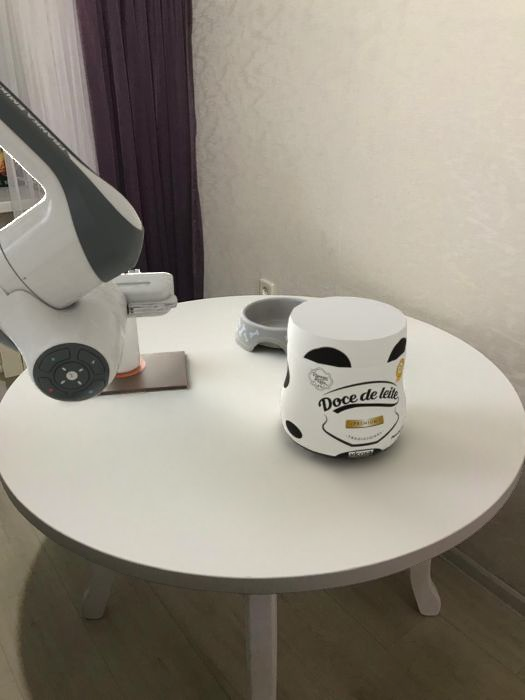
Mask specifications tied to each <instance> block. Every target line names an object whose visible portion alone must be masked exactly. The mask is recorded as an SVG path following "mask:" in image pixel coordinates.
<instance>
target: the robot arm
mask: <svg viewBox="0 0 525 700" xmlns="http://www.w3.org/2000/svg"><path fill="white" fill-rule="evenodd" d="M0 148H1V149H2V150H3V151H4V152H5V153H6V154H8V155H9V156H10V157H11V159H13V160H14V161H15V162H16V163H17V164H18V165H19V166H20V167H21V168H22V169H23V170H24V171H26V173H28V175H30V176H31V177H32V178H33V179H34V180H35V181H36V182H37V183H38V184H39V185H40V186H41V187H42V188H43V190H44V196H43V198H41V200H40V201H38V202H37V203H36V204H35V205H33V206H32V207H30V208H29V209H27V210H26V211H25V212H23V213H22V214H20V215H19V216H18V217H16V218H15V219H13V220H12V221H10V223H8V224H6V225H5V226H4V227H1V228H0V344H1V345H2V346H4V347H5V348H8V349H11V350H12V351H14V352H17V353H19V354H20V355H21V356H22V358H23V360H24V362H25V366H26V369H27V374H28V376H29V378H30V380H31V382H32V384H33V385H34V386H35V387H36V388H37V389H38V390H39V392H40V393H42V394H43V395H44V396H46V397H48V398H49V399H52V400H54V401H59V402H65V403H66V402H67V403H78V402H83V401H87V400H90V399H92V398H94V397H97V396H99V395H98V394H100V393H101V392H102V391H104V390H105V389H106V388H107V387H108V386H109V384H110V383H111V382H112V380H113V379H114V377H115V375H116V373H117V371H118V369H119V366H120V363H121V359H122V354H123V348H124V335H125V331H126V324H127V318H136V319H137V318H153V317H162V316H164V315H166V314H168V313H169V312H170V311H171V309H175V308H177V306H178V304H179V303H178V302H179V301H178V297H177V296H176V294H175V284H174V283H175V282H174V276H173V274H172V273H169V272H166V271H165V272H164V271H161V272H141V271H140V268H135V267H136V266H137V263H138V262H139V259H140V255H141V253H142V248H143V244H144V237H145V227H144V225H143V223H142V221H141V219H140V217H139V215H138V213H137V211H136V210H135V208H134V207H133V206H132V204H131V203H130V201H129V200H128V199H127V198H126V197H125V196H124V195H123V194H122V193H121V192H120V191H118V189H116V188H115V187H114V186H113V185H111V184H110V183H108V182H107V181H106V180H104V178H102V177H100V175H98V174H97V173H96V172H95V171H94V170H93V169H92V168H90V166H88V165H87V164H86V163H85V162H84V161H83V160H82V159H81V158H79V156H78V155H77V154H75V153H74V152H73V151H72V149H71V148H69V146H68V145H67V144H66V143H64V141H62V139H60V137H58V136H57V134H55V133H54V132H53V131H52V130H51V129H50V128H49V127H48V126H47V124H45V123H44V122H43V121H42V120H41V119H40V118H39V117H38V116H37V115H36V114H35V113H34V112H33V111H32V110H31V109H30V108H29V107H28V106H27V105H26V104H25V103H24V102H23V101H22V100H21V99H20V98H19V97H18V96H16V94H15V93H13V91H12V90H11V89H10V88H9V87H8V86H6V85H5V83H4V82H3V81H1V80H0Z"/></svg>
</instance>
